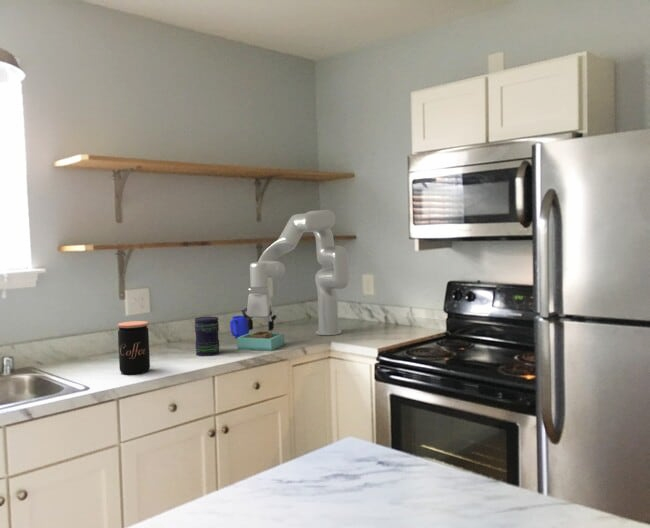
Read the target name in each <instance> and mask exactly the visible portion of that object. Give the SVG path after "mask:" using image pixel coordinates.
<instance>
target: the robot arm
mask: <svg viewBox="0 0 650 528" xmlns="http://www.w3.org/2000/svg"><path fill="white" fill-rule="evenodd" d="M335 224H336V215H335V213H334V212H332V210H330V209H329V210H328V209H325V210H323V209H322V210H311V211H307V212H305V213H297V214H296V213H295V214H293V215H292V216H291V217H290V218H289V219H288V221H287V223H286V225H285V227H284V229H283V230H282V231H281V234H280V236H279V237H278V239H276V241H273V243H271V244H270V246H267V248H266V249H265V250H264V251H263V252H262V254H261V256H260V257H259V259H258V261H257V262H256V261H255V262H251V263H250V265H249V276H250V277H249V280H250V281H249V282H250V287H248V288H247V291H248V292H249V294H248V298H247V307H245V308H244V309H242V310H241V313H242V316H244V317H245V319H246V320H247V322H248V330H249V331H252V330H254V323H253V321H254V320H253V318H267V319H268V323H267V324H268V332H272V331H273V330H274V328H275V327H274V324H275V323H274V321H275V320H276V318H278V315H279V314H280V311H279V310H278V309H276V308H274V307H273V305H272V299H271V295H270V293H269V283H268V282H269V278H271V279H279V278H281V277H282V276H284V274H285V272H286V266H285V265H284V263H282V262H281V261H279V260H277V259H279V258H280V257H281V256H283V255H285V254H287V253H289V252H292V251H293V250H295V248H296V247H297V245H298V243H299V241H300V240H301V238H302V236H303V234H304V233H313V235H314V238H315V245H316V246H315V248H316V258H317V262H318V264H319V265H321V266H324V268H321V269H318V271H317V272H316V274H315V275H314V276H315V277H314V278H315V279H314V280H315V282H314V283H315V285H316V291H317V313H318V329H317V330H316V331H315V335H317V336H335V335H337V336H338V335H341V334H342V330H341V329H339V306H338V305H339V303H338V302H339V301H338V298H339V297H338V293H337V289H339V290H341V289H345V288H346V287H348V285H349V282H350V266H349V265H350V264H349V261H350V260H349V254H348V252H347V250H346V248H345V247H344V246H341V245H335V243H334V242H335V241H334V234H333V232H332V229H331V228H333V226H334V225H335ZM325 266H330V267H333V268H330V267H329V268H327V267H326V268H325ZM272 314H273V315H272Z"/></svg>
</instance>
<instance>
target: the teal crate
mask: <svg viewBox="0 0 650 528" xmlns="http://www.w3.org/2000/svg"><path fill="white" fill-rule="evenodd" d="M254 333H255V332H249V334H246V335H243V336H241V337H238V338H236V347H237V350H244V351H263V352H264V351H265V352H266V351H267V352H272V351H275V350H277V349H279V348H280V347H282V346H285V345H286V344H285V333H283V332H282V333H279V332H278V333H277V332H272V338H270V339H266V338H250V335H251V334H254Z"/></svg>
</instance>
